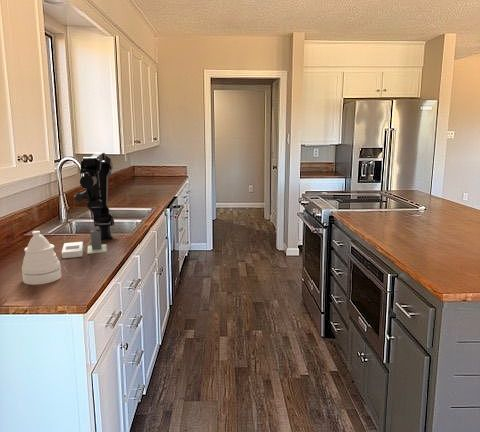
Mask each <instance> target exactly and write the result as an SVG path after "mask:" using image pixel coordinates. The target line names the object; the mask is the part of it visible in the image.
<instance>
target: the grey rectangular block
mask: <svg viewBox="0 0 480 432" xmlns="http://www.w3.org/2000/svg"><path fill="white" fill-rule="evenodd" d="M90 241H91V246H92V250H96V249H102V239H101V234H100V230H99V229H91V230H90Z"/></svg>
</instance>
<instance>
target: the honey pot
mask: <svg viewBox="0 0 480 432" xmlns="http://www.w3.org/2000/svg"><path fill="white" fill-rule="evenodd" d="M31 234H32V235H33V236H32V237H31V238H30V240H29V242H28V244H27V246H26V247H25V248H23V249H24V250H23V251H24V252H25V253H24V254H25V255H24V257H23V261H22V265H21V274H22V282H23V283H24V284H25V285H33V286H34V285H43V284H48V283H53V282H56V281H58V280H59V279H61V278H62V268H61V261H60V260H59V259H58V256H57V254H56V252H55V251H54V248H55V245H54V244H52V243H50V242H49V240H48V239H47V238H46V237H45V236H44V235H43V234H41V231H40V230H33V231H32V232H31Z"/></svg>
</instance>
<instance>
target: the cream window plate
mask: <svg viewBox="0 0 480 432" xmlns="http://www.w3.org/2000/svg"><path fill="white" fill-rule="evenodd" d="M83 252H84V241H75V242H74V241H73V242H64V243H63V246H62V250H61V259H69V258H79V257H80V258H81V257H83Z"/></svg>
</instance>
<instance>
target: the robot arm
mask: <svg viewBox="0 0 480 432" xmlns="http://www.w3.org/2000/svg"><path fill="white" fill-rule="evenodd" d="M112 170H113V162H112V159H111V157H109V156H107V154H106V152H103V151H100V152H99V151H97V152H96V151H95V152H93V154H92V155H91V156H83V157H82V159H81V160H80V169H79V171H80V172H79V173H80V174H83V176H81V177H80V180H79V184H80V186H81V188H83V189H85V190H84V191H82V192H78V193H76V194H75V195H73V198H74V201H75V202H76V203H77V204H79V203H80V202H82V201H85V200H86V207H87V209H88V210H90V211H91V212H92V219H93V220H92V221H93V224H94V227H98V230H100V234H101V240H105V239H106V240H107V239H113V234H112V230H111V229H112V227H113V226H115V219H114V216H113V214H112V211H111V210H110V208H109V203H108V202H109V200H108V199H109V192H108V191H109V177H110V176H111V175H112Z"/></svg>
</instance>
